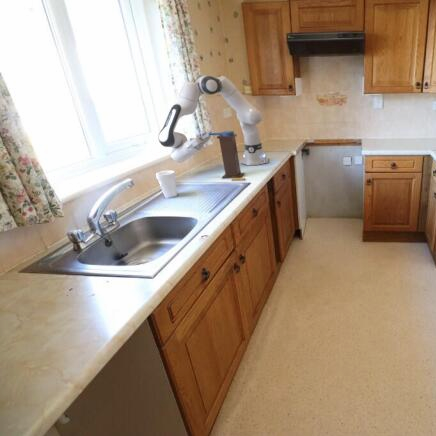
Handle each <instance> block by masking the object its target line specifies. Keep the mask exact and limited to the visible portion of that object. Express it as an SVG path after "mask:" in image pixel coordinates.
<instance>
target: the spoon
mask: <svg viewBox="0 0 436 436" xmlns="http://www.w3.org/2000/svg"><path fill="white" fill-rule="evenodd" d="M207 133H209V132H206V133H205V132H204V133H202V134H201V136H203V135H205V134H207ZM209 134H210V135H211V136H219V135H222V136H233V135H234V134H235V131H234V130H225V131H221V132H212V133H209Z"/></svg>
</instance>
